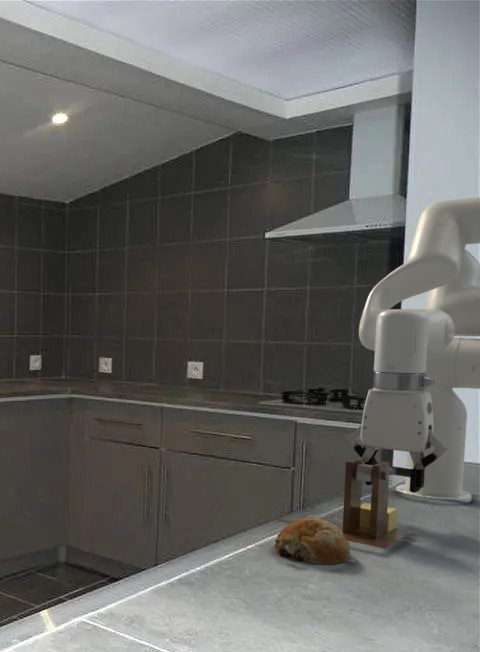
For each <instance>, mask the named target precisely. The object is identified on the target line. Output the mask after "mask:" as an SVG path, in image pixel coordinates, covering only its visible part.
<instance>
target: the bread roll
mask: <svg viewBox="0 0 480 652" xmlns="http://www.w3.org/2000/svg"><path fill="white" fill-rule="evenodd" d="M335 525H336V524H333V522H330V521H328V520H325V519H322V518H318V517H304V518H303V517H302V518H300V519H297V520H295V521H292V522H291V523H289V524H287V525H285V526H284V527H283V528H282V529H281V531H280V532H279V533H277V537H276V539H275V540H274V542H275V543H274V549H275V551H276V554H278V555H279V556H280V557H282V558H288V559H289V558H290V559H293V560H294V561H296V562H305V563H308V564H313V565H319V566H334V565H340V564H346V563H349V562H350V560H351V557H352V556H351V546H350V541H348V540H347V539H346V538H345V536H344V534H343V533H342V532H341V530H340V529H338V528H337V526H335Z"/></svg>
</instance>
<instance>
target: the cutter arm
mask: <svg viewBox="0 0 480 652" xmlns="http://www.w3.org/2000/svg"><path fill="white" fill-rule="evenodd" d="M410 474H411V469H408V468H406V467H401V466H392V465H390V469H389V476H398V477H403V478H406V477H410ZM372 475H373V465H365V464H364V463H363V464H361V465H357V474H356V480H362V481H363V482H366V481H369V482H372Z"/></svg>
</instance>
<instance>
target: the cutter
mask: <svg viewBox="0 0 480 652" xmlns="http://www.w3.org/2000/svg"><path fill="white" fill-rule="evenodd" d="M390 463H391V462H390V461H381V462H378V464H375V465H373V475H372V485H371V497H370V504H371V514H370V529H368V528H363V527H359V525H360V505H362V503H361V502H362V480H356V474H357V465H361V464H364V462H363V459H362V458H361V457H355V458H352V459H349V460H346V461H345V470H344V472H345V473H344V495H343V512H342V513H343V514H342V521H340V522H338V523H336V524H334V525H335V526H337V528H338V529H340V530H341V532H342V533H343V534H344V536H345V538H346V539H347V541H348V542H352V543H357V544H362V545H367V546H371V547H376V548H381V549H384V550H385V549H387V548H389V547H390V546H392V545H393V544H395V543H398V541H400V540H402V539H403V538H404V539H405V537H407V536H408V535H410V534H412V532H411V531H408V530H407V531H406V530H402V529H397V528H395V529H393V530H391V531H390V532H386V526H387V507H389V506H388V505H389V485H390V475H389V469H390V466H391V464H390Z"/></svg>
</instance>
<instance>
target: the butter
mask: <svg viewBox="0 0 480 652" xmlns="http://www.w3.org/2000/svg"><path fill="white" fill-rule="evenodd" d="M398 511H399V510H398V508H395V507H390V506H388V507H387V526H386V532H390V531H391V530H393V529H397V527H398ZM370 514H371V503H368V502H364V503H361V505H360V525H359V527H363V528H368V529H370Z"/></svg>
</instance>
